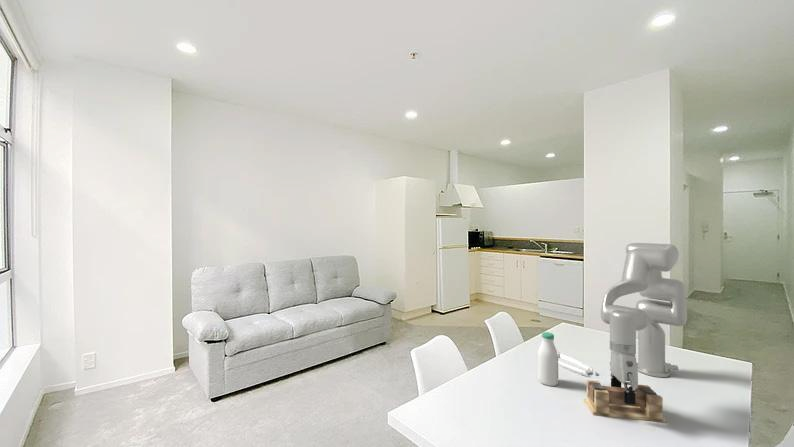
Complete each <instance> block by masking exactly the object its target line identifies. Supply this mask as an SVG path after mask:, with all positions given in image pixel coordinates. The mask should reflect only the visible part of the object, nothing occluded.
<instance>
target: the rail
mask: <svg viewBox="0 0 794 447" xmlns="http://www.w3.org/2000/svg"><path fill="white" fill-rule="evenodd" d="M594 390H605V391H608V392H609V404H616V405H626V406H637V407H646V394H650V395H658V394H657V393H656V392H655V390H653V389H652V388H642V387H641V389H637V391H636V393H635V405H634V404H625V403H624V391H625V388H624V387H622V386H621V387H611V385H610V386H609V385H607V386H606V385H601V383H600V384H596V383H591V385H589V397H590V399H591V400H592V401H593V402H594Z"/></svg>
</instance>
